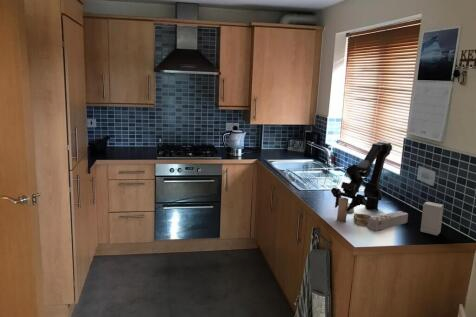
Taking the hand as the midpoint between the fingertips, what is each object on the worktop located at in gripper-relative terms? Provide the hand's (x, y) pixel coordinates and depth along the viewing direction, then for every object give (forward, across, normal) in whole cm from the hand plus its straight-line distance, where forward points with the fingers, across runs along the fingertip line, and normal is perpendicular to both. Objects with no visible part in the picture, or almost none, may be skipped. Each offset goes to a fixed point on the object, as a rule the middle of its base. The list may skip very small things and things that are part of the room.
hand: (341, 209), depth 212 cm
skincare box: (-12, +37, +22) cm, 44 cm away
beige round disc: (-8, -7, +18) cm, 21 cm away
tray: (-2, +8, +11) cm, 14 cm away
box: (-6, +18, +16) cm, 25 cm away
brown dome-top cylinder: (+4, 0, +6) cm, 7 cm away
